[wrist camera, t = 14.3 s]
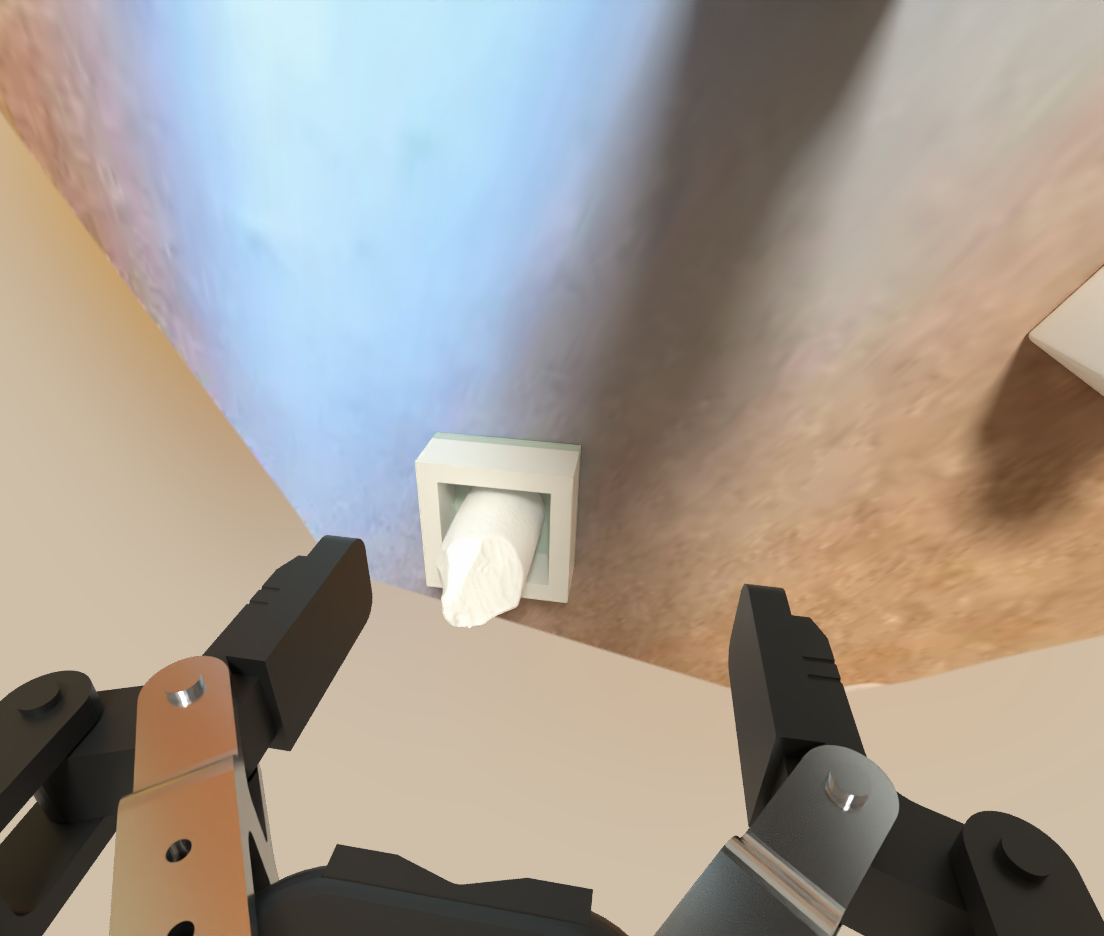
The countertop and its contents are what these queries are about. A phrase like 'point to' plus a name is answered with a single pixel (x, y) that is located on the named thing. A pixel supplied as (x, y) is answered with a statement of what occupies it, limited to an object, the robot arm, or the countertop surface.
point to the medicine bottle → (1077, 332)
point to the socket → (505, 466)
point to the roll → (488, 554)
